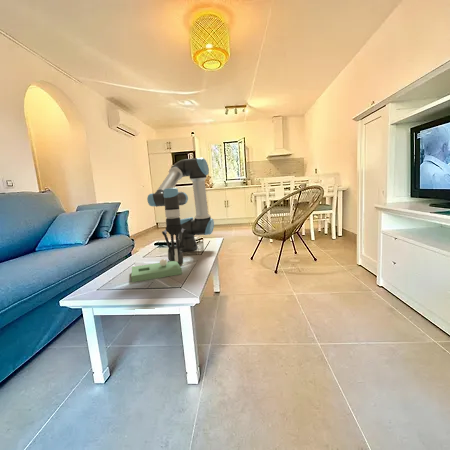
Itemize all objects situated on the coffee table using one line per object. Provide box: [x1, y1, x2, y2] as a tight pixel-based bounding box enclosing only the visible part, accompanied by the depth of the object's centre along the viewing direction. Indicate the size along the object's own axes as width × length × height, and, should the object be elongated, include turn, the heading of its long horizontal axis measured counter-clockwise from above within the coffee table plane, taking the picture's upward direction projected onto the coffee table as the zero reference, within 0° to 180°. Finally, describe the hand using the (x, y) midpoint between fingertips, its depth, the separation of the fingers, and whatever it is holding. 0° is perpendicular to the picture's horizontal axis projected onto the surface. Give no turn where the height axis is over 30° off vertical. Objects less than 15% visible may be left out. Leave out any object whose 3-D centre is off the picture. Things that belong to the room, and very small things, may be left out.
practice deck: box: [131, 260, 183, 283], centre depth 128 cm, size 24×17×3 cm
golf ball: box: [159, 258, 168, 267], centre depth 129 cm, size 4×4×4 cm
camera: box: [167, 245, 184, 265], centre depth 148 cm, size 13×10×10 cm
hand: (176, 260), depth 131 cm, fingers closed
